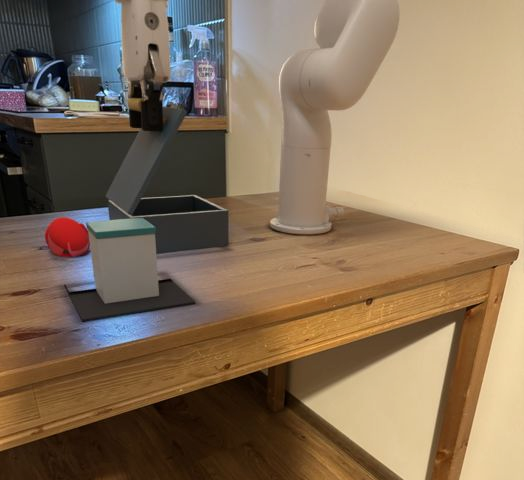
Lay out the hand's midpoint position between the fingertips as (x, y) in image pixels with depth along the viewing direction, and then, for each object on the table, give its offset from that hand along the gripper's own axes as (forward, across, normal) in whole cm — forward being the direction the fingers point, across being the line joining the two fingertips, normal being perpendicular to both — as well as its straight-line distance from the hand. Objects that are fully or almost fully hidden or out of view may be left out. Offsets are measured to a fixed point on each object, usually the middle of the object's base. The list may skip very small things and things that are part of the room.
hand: (145, 128), depth 79 cm
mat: (+19, -22, +10) cm, 31 cm away
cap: (+20, -1, +13) cm, 24 cm away
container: (+19, -22, +10) cm, 31 cm away
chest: (+19, 0, -3) cm, 19 cm away
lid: (+5, 0, 0) cm, 5 cm away
